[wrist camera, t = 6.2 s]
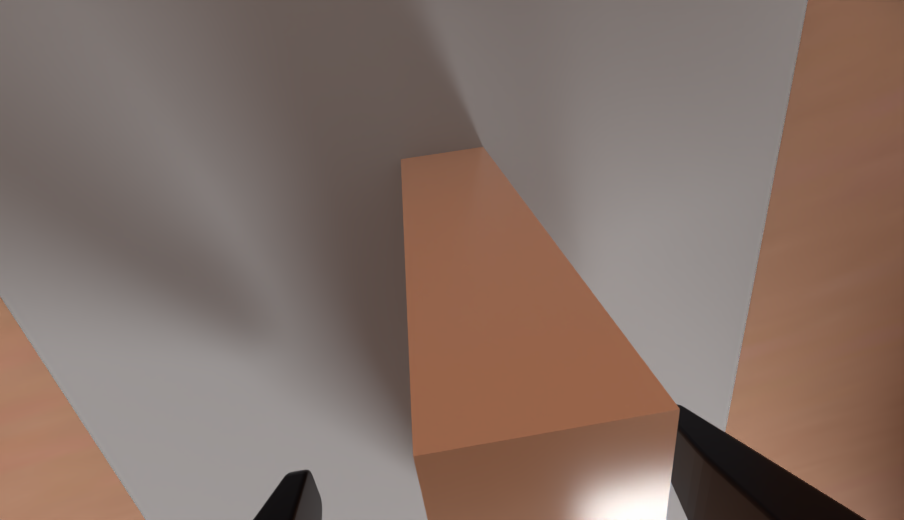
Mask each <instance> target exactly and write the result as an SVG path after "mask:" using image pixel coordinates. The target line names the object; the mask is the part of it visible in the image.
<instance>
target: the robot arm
mask: <svg viewBox="0 0 904 520" xmlns="http://www.w3.org/2000/svg"><path fill="white" fill-rule="evenodd" d="M676 405H677V406H678V407H679V409H680V412H679V420H678V428H677V436H676V444H675V452H674V460H673V468H672V475H671V484H672V486H673V488H674V490H675V493H676V495H677V497H678V499H679V502H680V504H681V506H682V508H683V511H684V513H685V515H686V517H687V519H688V520H866V519H864V518H863V517H861V516H860V515H858V514H856V513H855V512H853V511H851V510H850V509H848V508H847V507H845V506H843V505H842V504H840V503H839V502H837V501H835V500H834V499H832V498H830V497H829V496H827V495H826V494H824V493H822V492H821V491H819V490H818V489H816V488H814V487H813V486H811V485H809V484H808V483H806V482H805V481H803V480H801V479H800V478H798V477H797V476H795V475H793V474H792V473H790V472H788V471H787V470H785V469H784V468H782V467H780V466H779V465H777V464H776V463H774V462H772V461H771V460H769V459H768V458H766V457H764V456H763V455H761V454H759V453H758V452H756V451H755V450H753V449H751V448H750V447H748V446H747V445H745V444H743V443H742V442H740V441H738V440H737V439H735V438H734V437H732V436H730V435H729V434H727V433H726V432H724V431H722V430H721V429H719V428H717V427H716V426H714V425H713V424H711V423H709V422H708V421H706V420H705V419H703V418H701V417H700V416H698V415H696V414H695V413H693V412H692V411H690V410H688V409H687V408H685V407H683V406H681V405H679V404H676ZM253 520H322V500H321V496H320V493H319V491H318V488H317V486H316V483H315V480H314V478H313V475H312V473H311V471H310V470H306V469H305V470H299V471H294V472H289V473H288V474H286V475H285V476H284V477H283V479H282V480H281V482H280V483H279V484H278V486H277V487H276V489H275V490H274V491H273V493H272V494H271V495H270V497H269V498H268V500H267V501H266V502H265V504H264V505H263V507H262V508H261V509H260V511H259V512H258V513H257V515H256V516H255V518H254V519H253Z"/></svg>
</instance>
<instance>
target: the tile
mask: <svg viewBox="0 0 904 520" xmlns="http://www.w3.org/2000/svg"><path fill="white" fill-rule="evenodd" d="M401 178H402V202H403V226H404V250H405V274H406V298H407V322H408V346H409V370H410V394H411V418H412V442H413V458H414V463H415V467H416V471H417V476H418V480H419V484H420V489H421V493H422V497H423V502H424V506H425V510H426V515H427V519H428V520H666V515H667V507H668V499H669V491H670V483H671V475H672V468H673V460H674V452H675V444H676V436H677V428H678V420H679V412H680V409H679V407H678V406H677V405H676V403H675V402H674V401H673V399H672V398H671V397H670V395H669V394H668V393H667V391H666V390H665V389H664V387H663V386H662V385H661V383H660V382H659V381H658V379H657V378H656V377H655V375H654V374H653V373H652V371H651V370H650V369H649V367H648V366H647V365H646V363H645V362H644V361H643V359H642V358H641V357H640V355H639V354H638V353H637V351H636V350H635V349H634V347H633V346H632V345H631V343H630V342H629V341H628V339H627V338H626V337H625V335H624V334H623V333H622V331H621V330H620V329H619V327H618V326H617V325H616V323H615V322H614V321H613V319H612V318H611V317H610V315H609V314H608V313H607V311H606V310H605V309H604V307H603V306H602V305H601V303H600V302H599V301H598V299H597V298H596V297H595V295H594V294H593V293H592V291H591V290H590V289H589V287H588V286H587V285H586V283H585V282H584V281H583V279H582V278H581V277H580V275H579V274H578V273H577V271H576V270H575V269H574V267H573V266H572V265H571V263H570V262H569V261H568V259H567V258H566V257H565V255H564V254H563V253H562V251H561V250H560V249H559V247H558V246H557V245H556V243H555V242H554V241H553V239H552V238H551V237H550V235H549V234H548V233H547V231H546V230H545V229H544V227H543V226H542V225H541V223H540V222H539V221H538V219H537V218H536V217H535V215H534V214H533V213H532V211H531V210H530V209H529V207H528V206H527V205H526V203H525V202H524V201H523V199H522V198H521V197H520V195H519V194H518V193H517V191H516V190H515V189H514V187H513V186H512V185H511V183H510V182H509V181H508V179H507V178H506V177H505V175H504V174H503V173H502V171H501V170H500V169H499V167H498V166H497V165H496V163H495V162H494V161H493V159H492V158H491V157H490V155H489V154H488V153H487V151H486V150H485V149H484V147H478V148H472V149H465V150H458V151H452V152H445V153H439V154H432V155H425V156H419V157H412V158H405V159H401Z"/></svg>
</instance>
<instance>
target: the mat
mask: <svg viewBox="0 0 904 520" xmlns="http://www.w3.org/2000/svg"><path fill="white" fill-rule="evenodd" d="M807 2H808V0H0V297H1V298H2V300H3V301H4V303H5V304H6V306H7V308H8V309H9V311H10V312H11V314H12V315H13V317H14V318H15V320H16V321H17V323H18V324H19V326H20V327H21V329H22V331H23V332H24V334H25V335H26V337H27V338H28V340H29V341H30V343H31V344H32V346H33V347H34V349H35V351H36V352H37V354H38V355H39V357H40V358H41V360H42V361H43V363H44V364H45V366H46V367H47V369H48V371H49V372H50V374H51V375H52V377H53V378H54V380H55V381H56V383H57V384H58V386H59V387H60V389H61V390H62V392H63V394H64V395H65V397H66V398H67V400H68V401H69V403H70V404H71V406H72V407H73V409H74V410H75V412H76V414H77V415H78V417H79V418H80V420H81V421H82V423H83V424H84V426H85V427H86V429H87V430H88V432H89V434H90V435H91V437H92V438H93V440H94V441H95V443H96V444H97V446H98V447H99V449H100V450H101V452H102V454H103V455H104V457H105V458H106V460H107V461H108V463H109V464H110V466H111V467H112V469H113V470H114V472H115V473H116V475H117V477H118V478H119V480H120V481H121V483H122V484H123V486H124V487H125V489H126V490H127V492H128V493H129V495H130V497H131V498H132V500H133V501H134V503H135V504H136V506H137V507H138V509H139V510H140V512H141V513H142V515H143V517H144V518H145V520H253V519H254V518H255V516H256V515H257V513H258V512H259V511H260V509H261V508H262V507H263V505H264V504H265V502H266V501H267V500H268V498H269V497H270V495H271V494H272V493H273V491H274V490H275V489H276V487H277V486H278V484H279V483H280V482H281V480H282V479H283V477H284V476H285V475H286V474H288V473H289V472H294V471H299V470H305V469H306V470H310V471H311V473H312V475H313V478H314V480H315V483H316V486H317V488H318V491H319V493H320V496H321V500H322V520H428V519H427V515H426V510H425V506H424V502H423V497H422V493H421V489H420V484H419V480H418V476H417V471H416V467H415V463H414V458H413V442H412V418H411V394H410V370H409V346H408V322H407V298H406V274H405V250H404V226H403V202H402V178H401V159H405V158H412V157H419V156H425V155H432V154H439V153H445V152H452V151H458V150H465V149H472V148H478V147H484V149H485V150H486V151H487V153H488V154H489V155H490V157H491V158H492V159H493V161H494V162H495V163H496V165H497V166H498V167H499V169H500V170H501V171H502V173H503V174H504V175H505V177H506V178H507V179H508V181H509V182H510V183H511V185H512V186H513V187H514V189H515V190H516V191H517V193H518V194H519V195H520V197H521V198H522V199H523V201H524V202H525V203H526V205H527V206H528V207H529V209H530V210H531V211H532V213H533V214H534V215H535V217H536V218H537V219H538V221H539V222H540V223H541V225H542V226H543V227H544V229H545V230H546V231H547V233H548V234H549V235H550V237H551V238H552V239H553V241H554V242H555V243H556V245H557V246H558V247H559V249H560V250H561V251H562V253H563V254H564V255H565V257H566V258H567V259H568V261H569V262H570V263H571V265H572V266H573V267H574V269H575V270H576V271H577V273H578V274H579V275H580V277H581V278H582V279H583V281H584V282H585V283H586V285H587V286H588V287H589V289H590V290H591V291H592V293H593V294H594V295H595V297H596V298H597V299H598V301H599V302H600V303H601V305H602V306H603V307H604V309H605V310H606V311H607V313H608V314H609V315H610V317H611V318H612V319H613V321H614V322H615V323H616V325H617V326H618V327H619V329H620V330H621V331H622V333H623V334H624V335H625V337H626V338H627V339H628V341H629V342H630V343H631V345H632V346H633V347H634V349H635V350H636V351H637V353H638V354H639V355H640V357H641V358H642V359H643V361H644V362H645V363H646V365H647V366H648V367H649V369H650V370H651V371H652V373H653V374H654V375H655V377H656V378H657V379H658V381H659V382H660V383H661V385H662V386H663V387H664V389H665V390H666V391H667V393H668V394H669V395H670V397H671V398H672V399H673V401H674V402H675V403H676V404H679V405H681V406H683V407H685V408H687V409H688V410H690V411H692V412H693V413H695V414H696V415H698V416H700V417H701V418H703V419H705V420H706V421H708V422H709V423H711V424H713V425H714V426H716V427H717V428H719V429H721V430H722V431H724V432H725V430H726V425H727V420H728V414H729V409H730V404H731V399H732V393H733V388H734V383H735V378H736V373H737V367H738V362H739V357H740V352H741V347H742V341H743V336H744V331H745V326H746V320H747V315H748V310H749V305H750V300H751V294H752V289H753V284H754V279H755V273H756V268H757V263H758V258H759V253H760V247H761V242H762V237H763V232H764V226H765V221H766V216H767V211H768V206H769V200H770V195H771V190H772V185H773V179H774V174H775V169H776V164H777V159H778V153H779V148H780V143H781V138H782V132H783V127H784V122H785V117H786V112H787V106H788V101H789V96H790V91H791V86H792V80H793V75H794V70H795V65H796V59H797V54H798V49H799V44H800V39H801V33H802V28H803V23H804V18H805V12H806V7H807ZM666 520H688V519H687V517H686V515H685V513H684V511H683V508H682V506H681V504H680V502H679V499H678V497H677V495H676V493H675V490H674V488H673V486H672V484H671V483H670V491H669V499H668V507H667V515H666Z"/></svg>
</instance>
